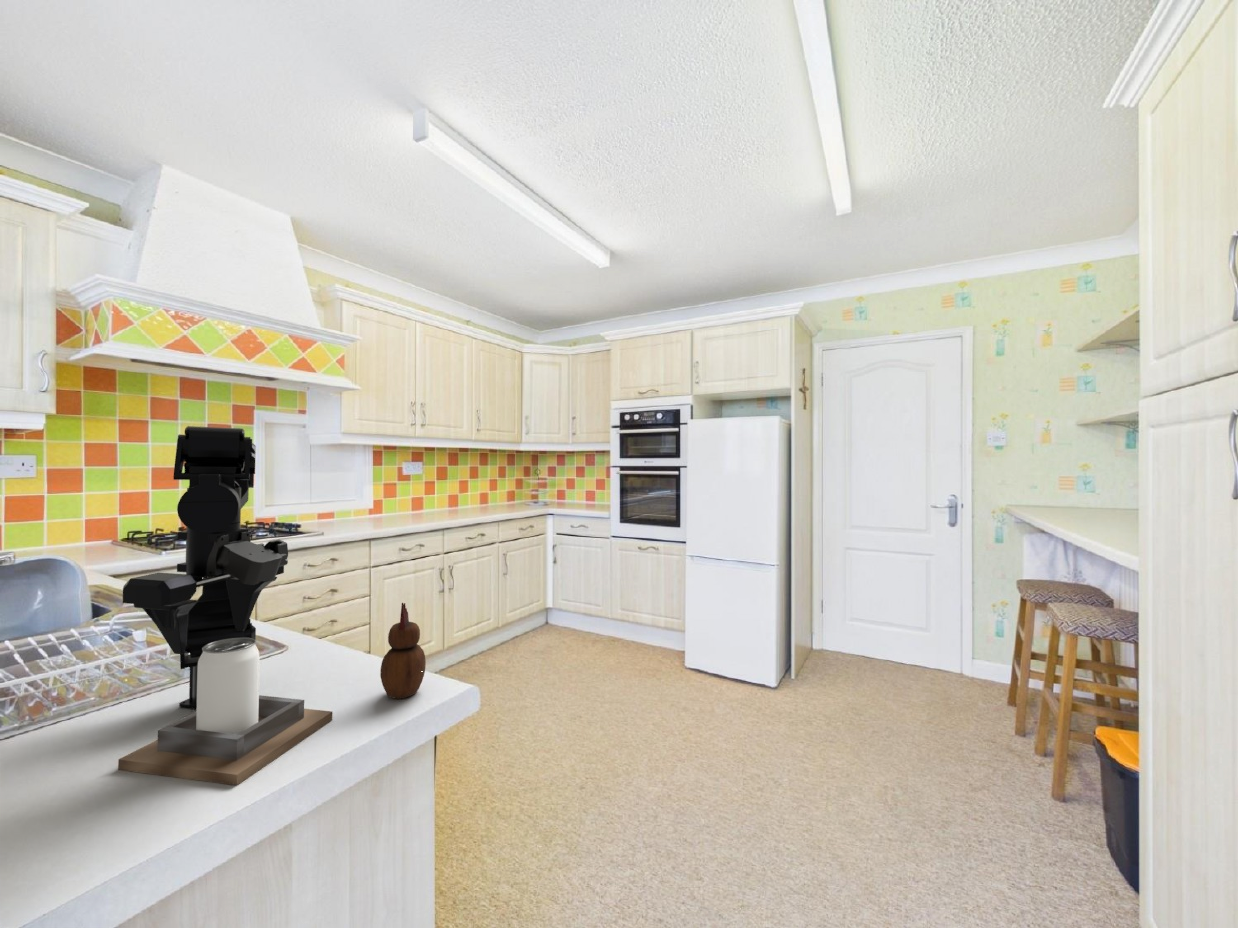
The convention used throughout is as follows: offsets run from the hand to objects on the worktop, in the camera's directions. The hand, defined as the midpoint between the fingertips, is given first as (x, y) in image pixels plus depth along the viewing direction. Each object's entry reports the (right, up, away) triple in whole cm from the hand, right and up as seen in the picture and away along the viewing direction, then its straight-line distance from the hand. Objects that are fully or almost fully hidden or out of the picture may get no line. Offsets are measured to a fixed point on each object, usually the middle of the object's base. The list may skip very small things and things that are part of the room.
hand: (211, 641), depth 72 cm
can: (+3, -12, -2) cm, 13 cm away
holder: (+4, -13, -1) cm, 13 cm away
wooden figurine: (+19, -14, +15) cm, 28 cm away
